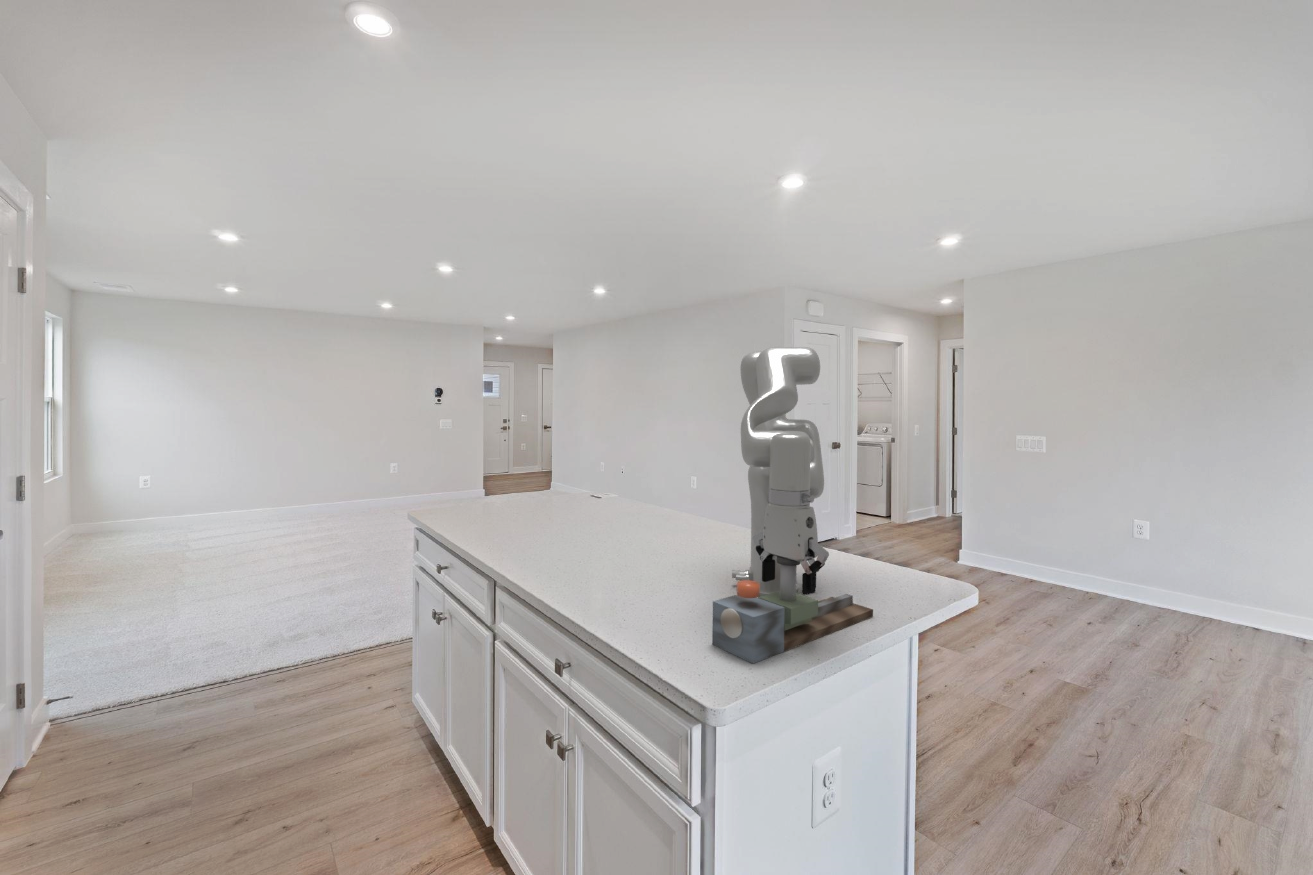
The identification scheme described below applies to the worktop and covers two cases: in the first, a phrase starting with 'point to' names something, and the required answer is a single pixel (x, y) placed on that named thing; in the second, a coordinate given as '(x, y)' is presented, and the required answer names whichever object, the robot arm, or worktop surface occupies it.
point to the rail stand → (776, 625)
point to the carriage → (792, 597)
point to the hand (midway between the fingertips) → (787, 586)
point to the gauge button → (748, 589)
